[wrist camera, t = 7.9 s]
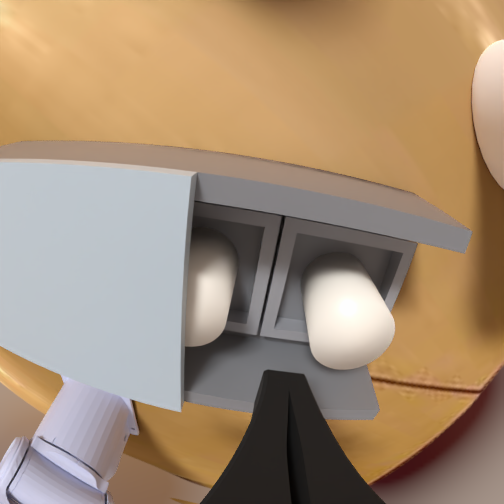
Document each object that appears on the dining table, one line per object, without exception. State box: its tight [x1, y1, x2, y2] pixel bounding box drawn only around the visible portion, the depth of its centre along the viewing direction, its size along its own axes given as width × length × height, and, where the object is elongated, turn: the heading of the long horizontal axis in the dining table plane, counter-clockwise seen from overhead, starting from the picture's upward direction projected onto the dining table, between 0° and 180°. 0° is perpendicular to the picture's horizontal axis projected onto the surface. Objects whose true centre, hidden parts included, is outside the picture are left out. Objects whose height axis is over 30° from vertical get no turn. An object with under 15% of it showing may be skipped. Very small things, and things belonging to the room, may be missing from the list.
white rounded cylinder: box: [300, 252, 395, 370], centre depth 15 cm, size 4×4×5 cm
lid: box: [0, 159, 197, 412], centre depth 11 cm, size 12×16×2 cm
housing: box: [0, 141, 472, 420], centre depth 15 cm, size 12×26×6 cm, turn 81°
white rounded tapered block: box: [185, 227, 239, 347], centre depth 15 cm, size 4×4×5 cm
